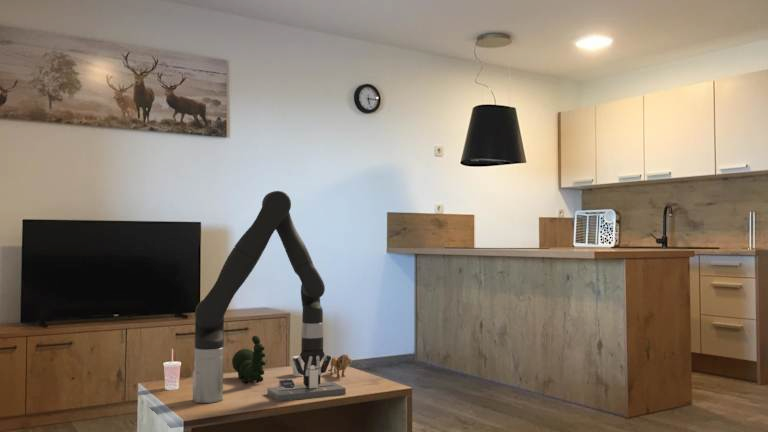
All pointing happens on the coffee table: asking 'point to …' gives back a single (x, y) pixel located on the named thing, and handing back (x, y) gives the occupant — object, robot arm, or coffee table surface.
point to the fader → (313, 378)
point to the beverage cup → (172, 374)
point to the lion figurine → (340, 364)
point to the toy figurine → (250, 362)
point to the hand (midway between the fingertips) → (311, 385)
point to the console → (305, 391)
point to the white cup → (295, 372)
